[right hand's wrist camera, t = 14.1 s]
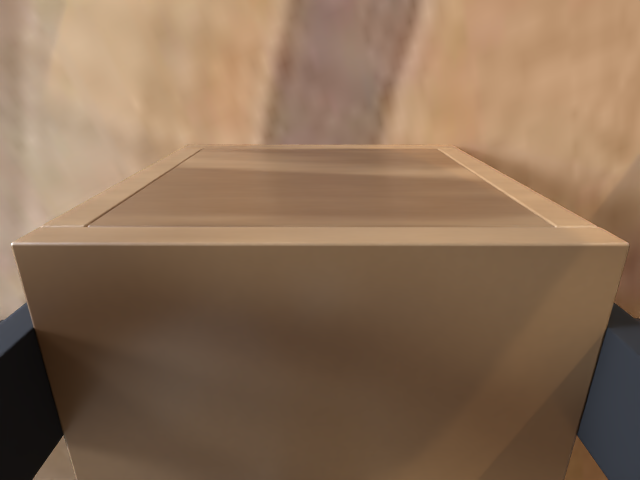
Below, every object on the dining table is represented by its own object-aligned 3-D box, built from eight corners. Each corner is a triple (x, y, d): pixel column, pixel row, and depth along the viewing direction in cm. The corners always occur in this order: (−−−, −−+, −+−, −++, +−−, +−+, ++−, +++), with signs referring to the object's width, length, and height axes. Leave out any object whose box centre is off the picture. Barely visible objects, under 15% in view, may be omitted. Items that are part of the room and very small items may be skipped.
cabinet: (417, 467, 25) (487, 754, 14) (222, 467, 25) (151, 754, 14) (453, 144, 18) (632, 243, 8) (186, 144, 18) (8, 242, 8)
